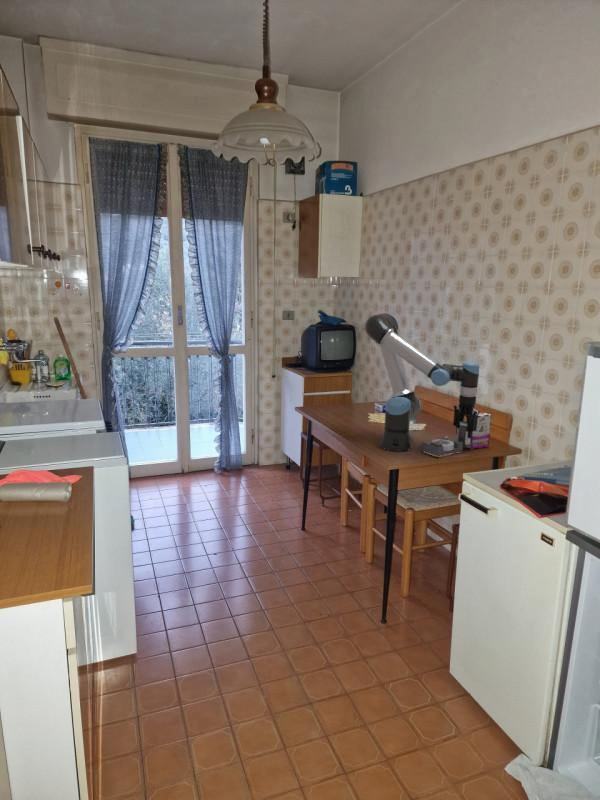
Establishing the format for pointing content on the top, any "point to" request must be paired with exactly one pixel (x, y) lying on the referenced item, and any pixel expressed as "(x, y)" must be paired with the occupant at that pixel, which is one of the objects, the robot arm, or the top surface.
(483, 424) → the candy bar box
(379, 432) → the top surface
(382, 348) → the robot arm
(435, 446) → the camera body
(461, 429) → the lens
